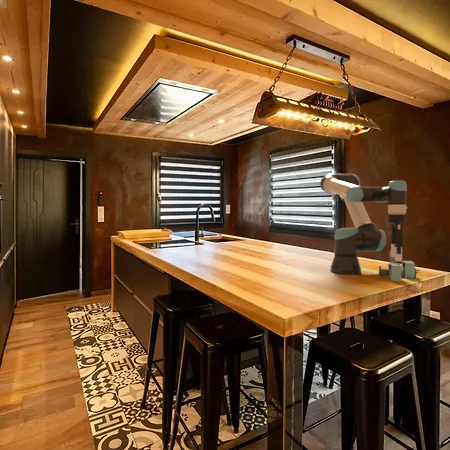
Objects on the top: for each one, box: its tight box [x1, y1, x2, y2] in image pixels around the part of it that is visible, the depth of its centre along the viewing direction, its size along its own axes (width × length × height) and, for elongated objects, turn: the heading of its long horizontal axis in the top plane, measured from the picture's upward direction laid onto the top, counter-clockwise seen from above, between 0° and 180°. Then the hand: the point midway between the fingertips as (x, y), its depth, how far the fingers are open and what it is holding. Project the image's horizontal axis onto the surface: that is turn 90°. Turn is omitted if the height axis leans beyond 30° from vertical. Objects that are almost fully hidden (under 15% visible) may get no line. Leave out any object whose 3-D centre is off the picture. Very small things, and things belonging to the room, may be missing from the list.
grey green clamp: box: [378, 260, 417, 280], centre depth 160 cm, size 16×8×7 cm, turn 69°
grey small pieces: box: [388, 250, 422, 272], centre depth 172 cm, size 10×11×15 cm
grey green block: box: [387, 262, 402, 283], centre depth 152 cm, size 5×8×7 cm, turn 159°
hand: (396, 259), depth 151 cm, fingers open, 13 cm apart
